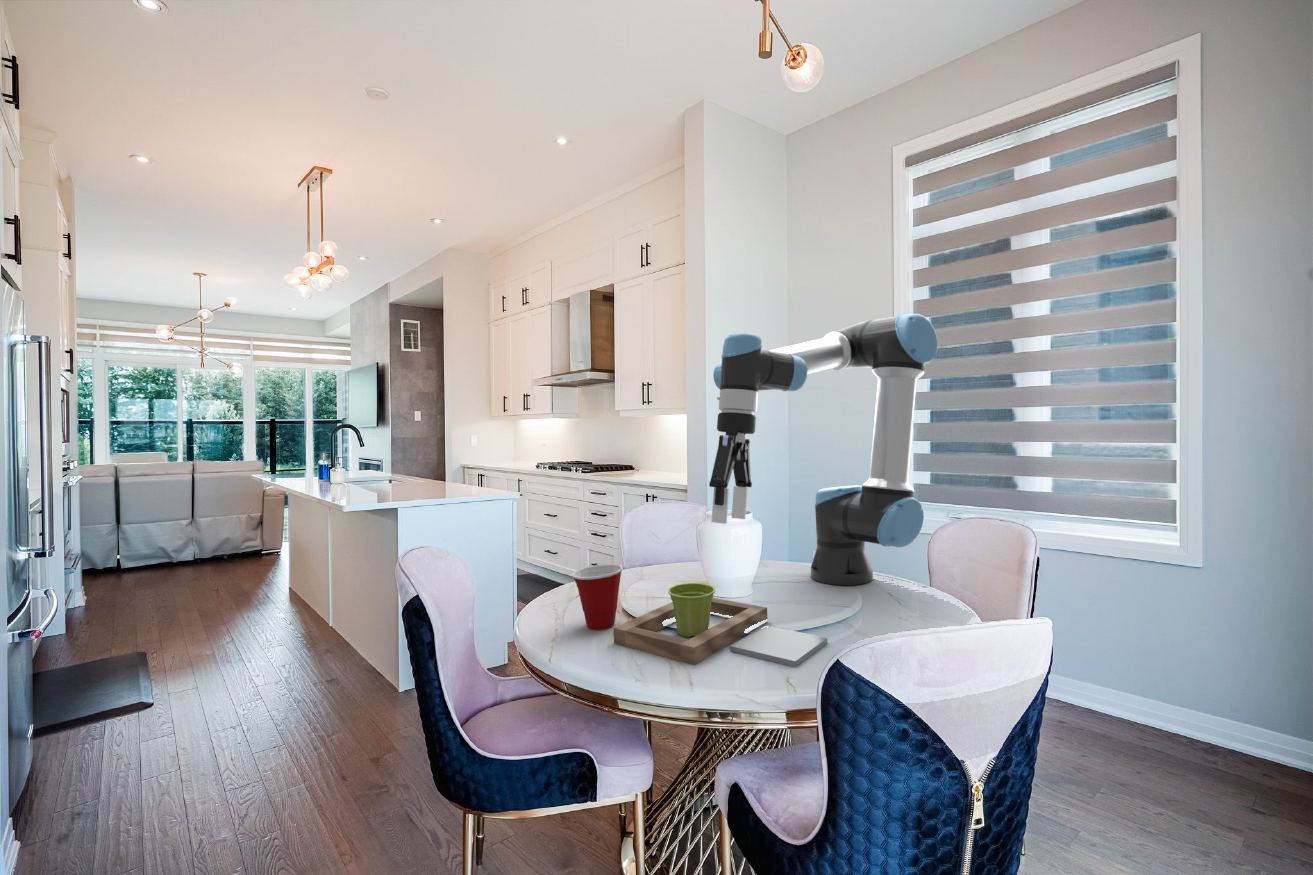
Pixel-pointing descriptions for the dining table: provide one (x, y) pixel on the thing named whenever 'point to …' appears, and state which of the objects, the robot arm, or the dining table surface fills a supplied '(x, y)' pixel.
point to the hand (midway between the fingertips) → (729, 520)
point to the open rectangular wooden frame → (696, 649)
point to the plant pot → (691, 607)
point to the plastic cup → (599, 593)
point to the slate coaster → (779, 645)
